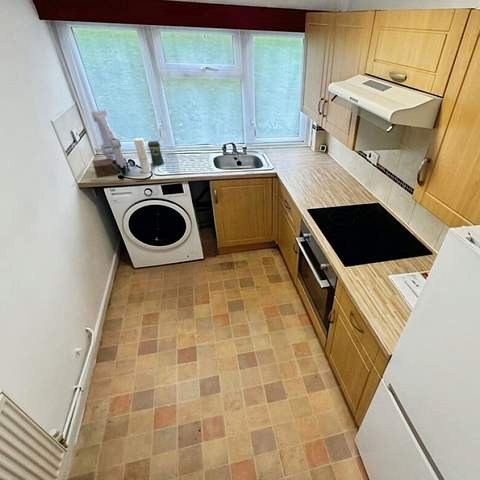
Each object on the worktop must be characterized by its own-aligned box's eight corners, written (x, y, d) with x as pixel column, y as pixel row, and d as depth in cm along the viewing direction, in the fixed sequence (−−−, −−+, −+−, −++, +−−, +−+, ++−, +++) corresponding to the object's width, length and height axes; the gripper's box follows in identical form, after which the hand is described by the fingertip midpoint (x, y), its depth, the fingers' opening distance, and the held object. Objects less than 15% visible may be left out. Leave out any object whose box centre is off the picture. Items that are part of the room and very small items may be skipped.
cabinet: (114, 168, 247) (111, 158, 242) (116, 174, 238) (112, 163, 232) (96, 171, 242) (92, 160, 237) (97, 177, 232) (93, 166, 227)
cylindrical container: (152, 169, 248) (144, 138, 232) (149, 172, 242) (141, 140, 227) (144, 169, 248) (135, 137, 232) (140, 172, 242) (132, 140, 227)
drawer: (132, 165, 252) (130, 157, 248) (135, 170, 243) (132, 162, 239) (111, 168, 246) (108, 160, 241) (113, 173, 237) (110, 165, 232)
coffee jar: (163, 161, 264) (159, 139, 252) (164, 164, 258) (159, 142, 246) (152, 162, 261) (147, 140, 250) (152, 165, 255) (147, 143, 244)
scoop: (127, 173, 240) (123, 162, 234) (128, 175, 237) (124, 163, 231) (115, 175, 236) (111, 163, 230) (116, 177, 233) (112, 165, 227)
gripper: (125, 158, 225) (130, 175, 233) (123, 152, 234) (128, 169, 243) (115, 159, 222) (121, 177, 230) (113, 154, 232) (118, 171, 240)
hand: (124, 173), depth 237 cm, fingers closed on scoop, 4 cm apart
